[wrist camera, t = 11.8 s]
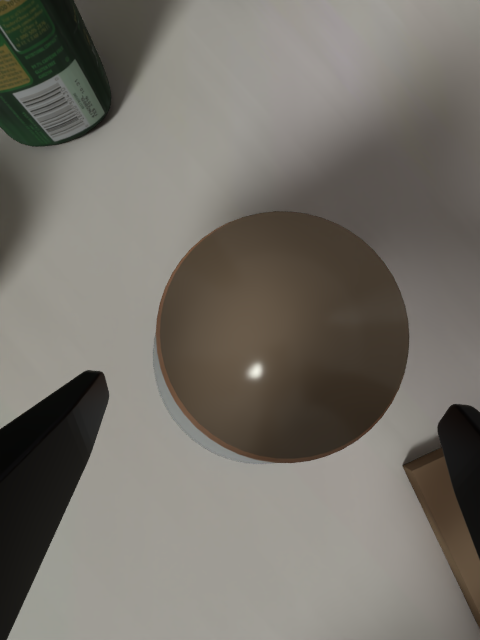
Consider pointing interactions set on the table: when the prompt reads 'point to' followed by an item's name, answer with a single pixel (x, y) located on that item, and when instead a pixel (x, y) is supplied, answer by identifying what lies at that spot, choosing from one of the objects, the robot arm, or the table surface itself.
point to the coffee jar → (48, 73)
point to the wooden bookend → (447, 522)
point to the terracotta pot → (282, 337)
